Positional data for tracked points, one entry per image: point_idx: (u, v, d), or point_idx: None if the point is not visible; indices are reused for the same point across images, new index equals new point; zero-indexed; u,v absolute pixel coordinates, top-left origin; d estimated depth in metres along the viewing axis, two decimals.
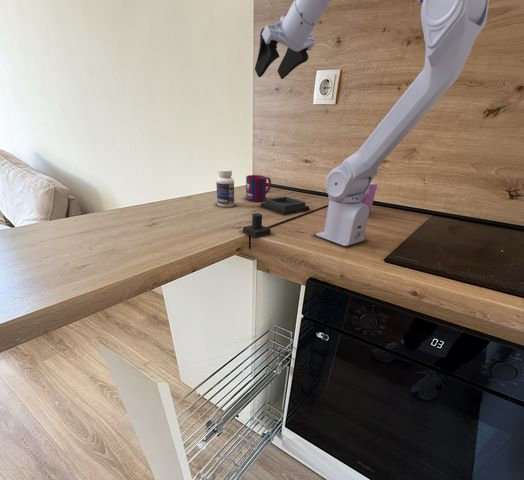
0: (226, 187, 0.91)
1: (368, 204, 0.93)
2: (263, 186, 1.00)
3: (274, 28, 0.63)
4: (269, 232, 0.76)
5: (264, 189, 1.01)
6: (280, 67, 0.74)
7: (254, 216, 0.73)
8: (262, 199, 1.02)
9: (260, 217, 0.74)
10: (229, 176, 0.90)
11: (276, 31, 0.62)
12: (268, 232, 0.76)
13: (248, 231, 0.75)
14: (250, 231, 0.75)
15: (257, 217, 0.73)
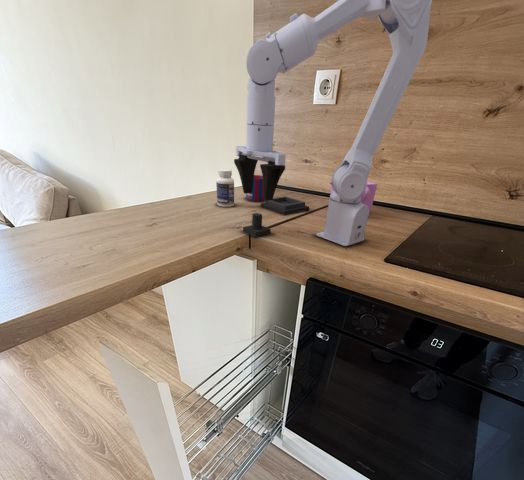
0: (226, 187, 0.91)
1: (368, 204, 0.93)
2: (263, 186, 1.00)
3: None
4: (269, 232, 0.76)
5: None
6: (246, 188, 0.72)
7: (254, 216, 0.73)
8: (262, 199, 1.02)
9: (260, 217, 0.74)
10: (229, 176, 0.90)
11: None
12: (268, 232, 0.76)
13: (248, 231, 0.75)
14: (250, 231, 0.75)
15: (257, 217, 0.73)
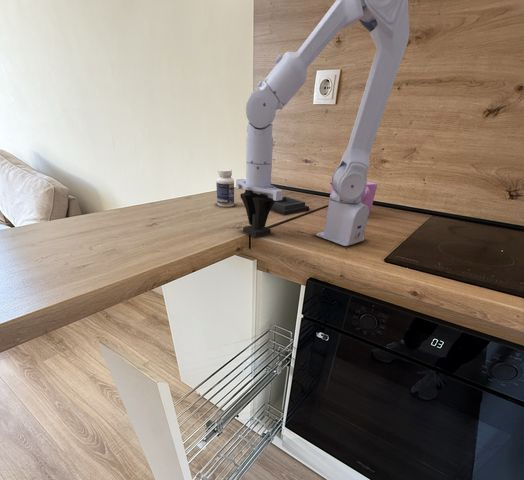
0: (226, 187, 0.91)
1: (368, 204, 0.93)
2: None
3: None
4: (269, 232, 0.76)
5: None
6: (251, 220, 0.75)
7: (254, 216, 0.73)
8: None
9: None
10: (229, 176, 0.90)
11: None
12: (269, 232, 0.76)
13: (248, 231, 0.75)
14: (250, 231, 0.75)
15: None
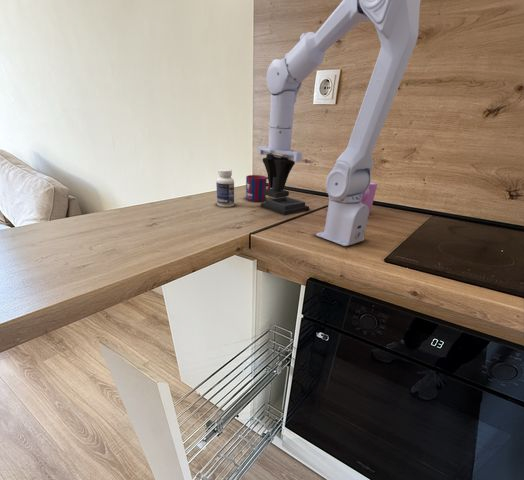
0: (226, 187, 0.91)
1: (368, 204, 0.93)
2: (263, 186, 1.00)
3: None
4: (287, 194, 0.85)
5: (264, 189, 1.01)
6: (272, 183, 0.84)
7: (274, 179, 0.82)
8: (262, 199, 1.02)
9: None
10: (229, 176, 0.90)
11: None
12: (287, 194, 0.84)
13: (269, 193, 0.83)
14: (271, 193, 0.83)
15: None
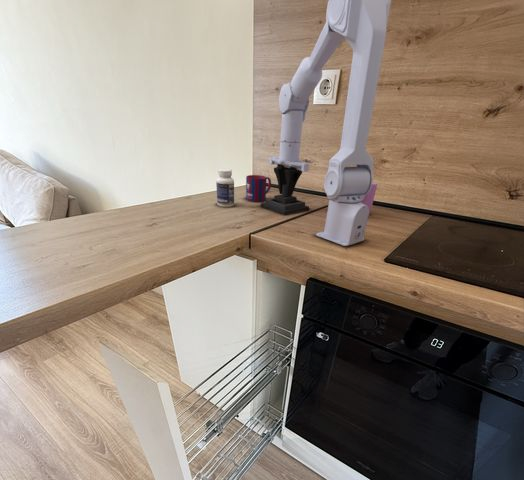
0: (226, 187, 0.91)
1: (368, 204, 0.93)
2: (263, 186, 1.00)
3: None
4: (295, 200, 0.95)
5: (264, 189, 1.01)
6: (281, 190, 0.94)
7: (284, 186, 0.92)
8: (262, 199, 1.02)
9: None
10: (229, 176, 0.90)
11: None
12: (295, 199, 0.94)
13: (279, 198, 0.94)
14: (280, 198, 0.93)
15: None
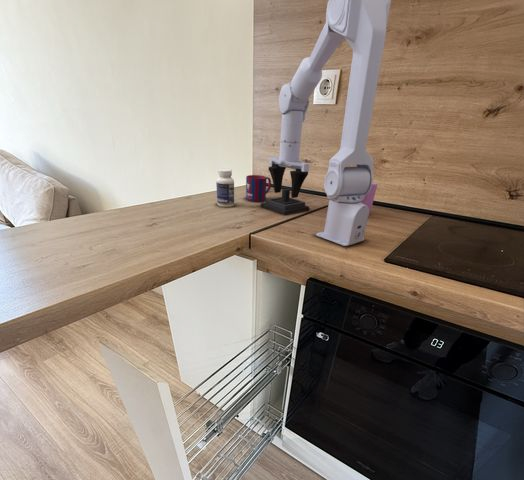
0: (226, 187, 0.91)
1: (368, 204, 0.93)
2: (263, 186, 1.00)
3: None
4: None
5: (264, 189, 1.01)
6: (276, 188, 0.95)
7: (284, 190, 0.93)
8: (262, 199, 1.02)
9: (288, 191, 0.93)
10: (229, 176, 0.90)
11: None
12: None
13: None
14: None
15: (286, 191, 0.93)
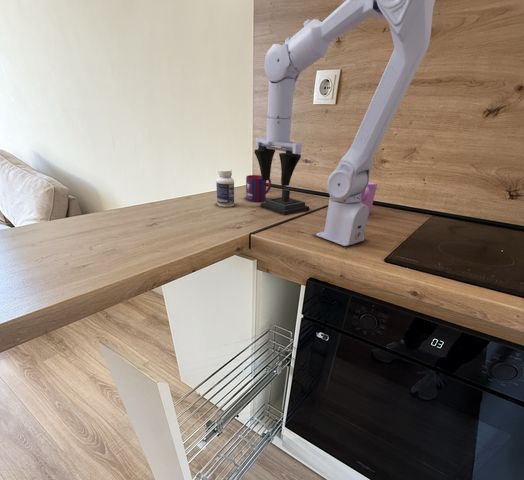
0: (226, 187, 0.91)
1: (368, 204, 0.93)
2: (263, 186, 1.00)
3: None
4: None
5: (264, 189, 1.01)
6: (264, 175, 0.81)
7: (284, 190, 0.93)
8: (262, 199, 1.02)
9: (288, 191, 0.93)
10: (229, 176, 0.90)
11: None
12: None
13: None
14: None
15: (286, 191, 0.93)
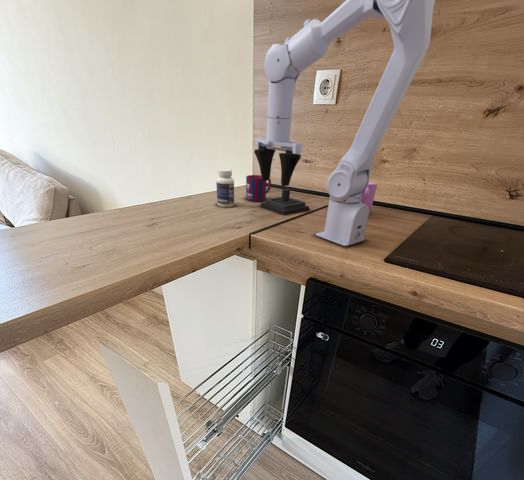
0: (226, 187, 0.91)
1: (368, 204, 0.93)
2: (263, 186, 1.00)
3: None
4: None
5: (264, 189, 1.01)
6: (264, 175, 0.81)
7: (284, 190, 0.93)
8: (262, 199, 1.02)
9: (288, 191, 0.93)
10: (229, 176, 0.90)
11: None
12: None
13: None
14: None
15: (286, 191, 0.93)
